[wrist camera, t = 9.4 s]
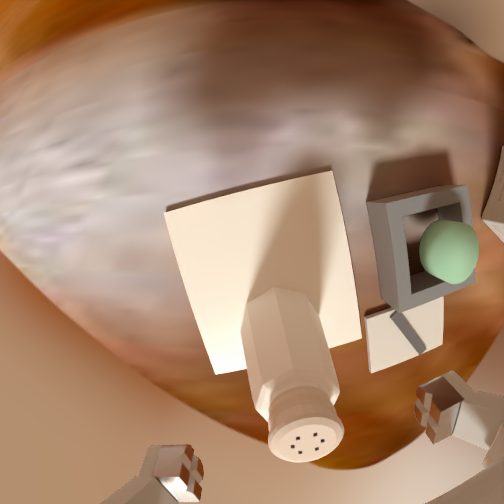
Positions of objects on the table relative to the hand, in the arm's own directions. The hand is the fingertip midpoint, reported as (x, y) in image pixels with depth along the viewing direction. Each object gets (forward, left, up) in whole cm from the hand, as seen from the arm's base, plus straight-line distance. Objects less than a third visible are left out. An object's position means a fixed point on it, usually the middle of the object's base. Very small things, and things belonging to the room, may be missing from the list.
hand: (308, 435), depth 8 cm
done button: (-2, +11, -8) cm, 14 cm away
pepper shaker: (+1, 0, -11) cm, 11 cm away
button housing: (-2, +11, -12) cm, 16 cm away
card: (+5, +10, -12) cm, 16 cm away
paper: (-2, 0, -12) cm, 12 cm away
